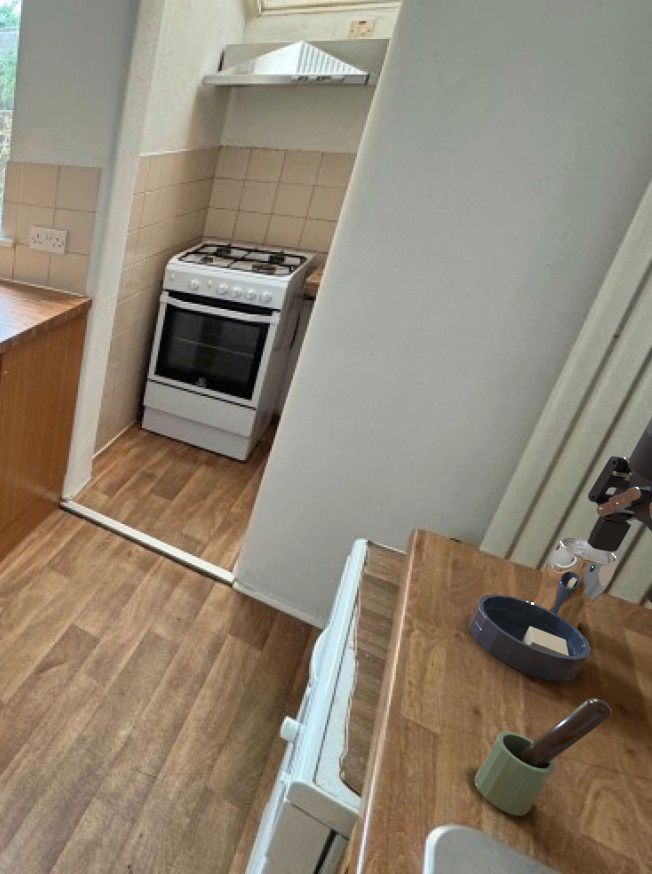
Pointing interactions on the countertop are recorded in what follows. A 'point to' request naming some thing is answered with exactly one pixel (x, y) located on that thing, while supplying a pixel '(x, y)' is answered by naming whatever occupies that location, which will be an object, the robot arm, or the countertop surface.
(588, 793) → the countertop surface
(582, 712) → the stir stick
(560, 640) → the block
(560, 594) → the beer glass
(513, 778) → the pot
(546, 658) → the bowl
